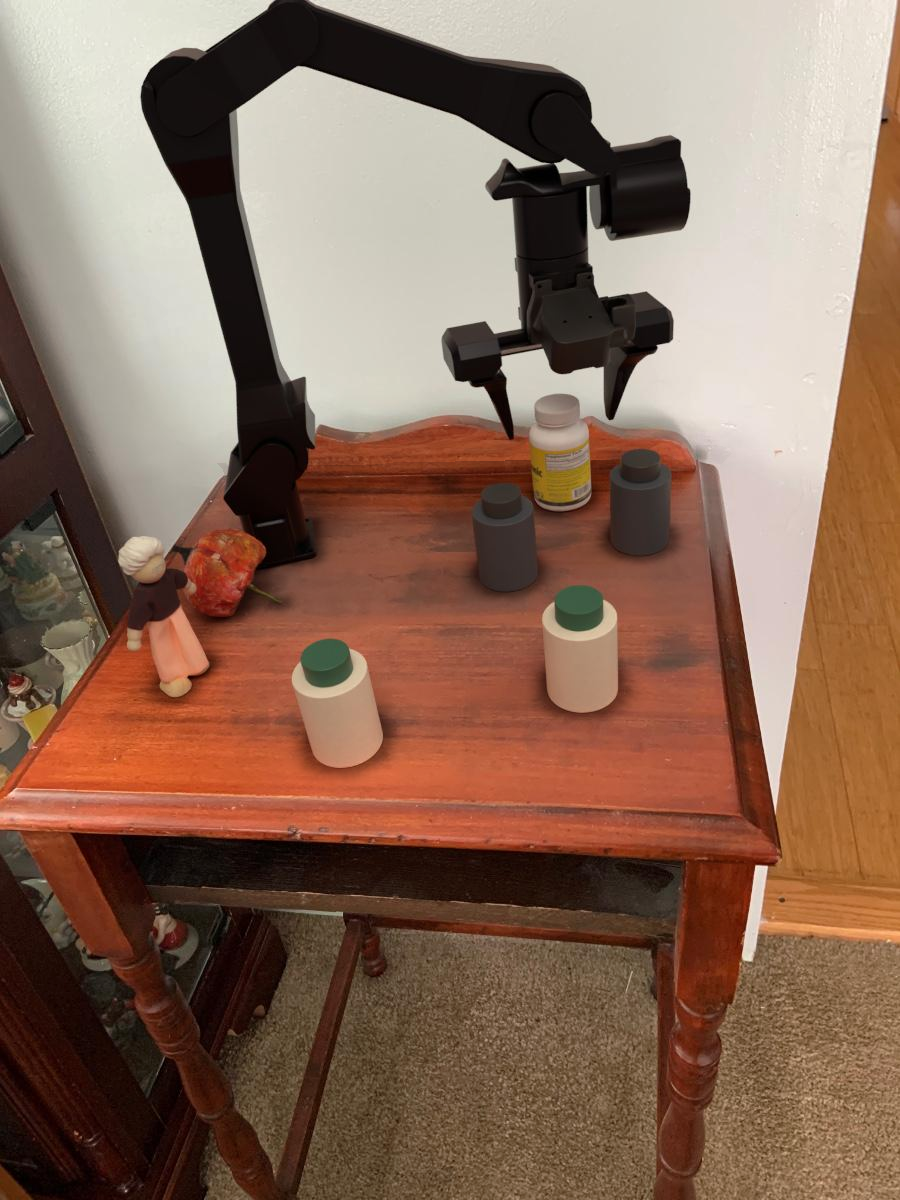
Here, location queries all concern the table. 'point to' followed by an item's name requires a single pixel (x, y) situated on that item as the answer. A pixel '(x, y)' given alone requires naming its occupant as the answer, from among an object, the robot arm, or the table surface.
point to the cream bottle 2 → (581, 650)
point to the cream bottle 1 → (337, 704)
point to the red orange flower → (222, 570)
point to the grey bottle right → (640, 503)
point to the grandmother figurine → (161, 615)
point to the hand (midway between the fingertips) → (560, 428)
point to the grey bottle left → (505, 538)
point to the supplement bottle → (560, 454)
